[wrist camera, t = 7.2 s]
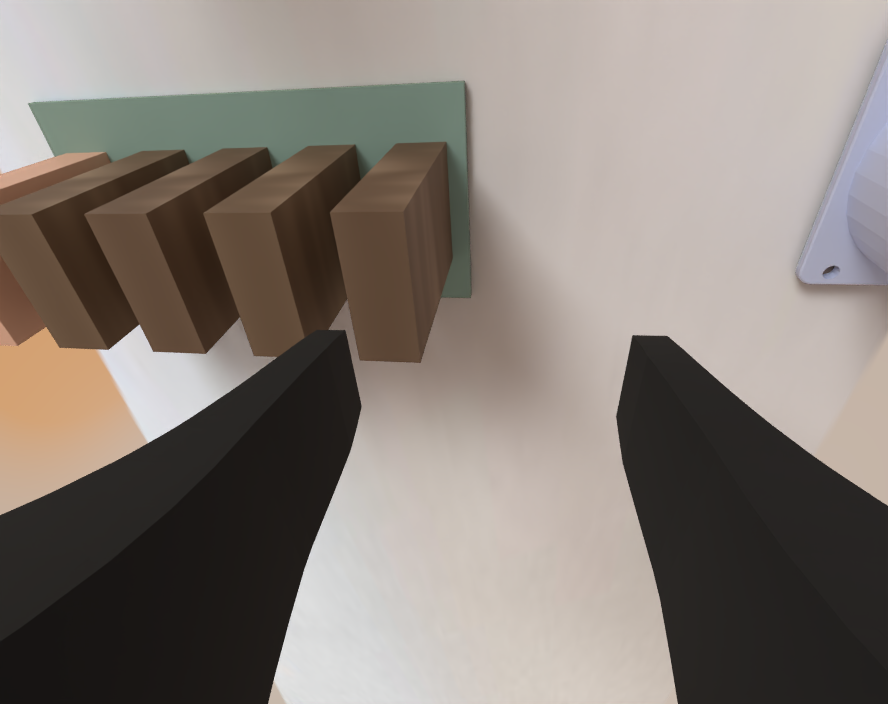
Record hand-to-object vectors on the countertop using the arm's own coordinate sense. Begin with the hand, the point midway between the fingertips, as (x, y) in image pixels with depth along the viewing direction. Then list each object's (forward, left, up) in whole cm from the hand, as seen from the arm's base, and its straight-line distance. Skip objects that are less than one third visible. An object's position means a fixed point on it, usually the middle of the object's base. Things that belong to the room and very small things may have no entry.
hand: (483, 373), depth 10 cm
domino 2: (+10, 0, -10) cm, 14 cm away
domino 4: (+3, 0, -10) cm, 11 cm away
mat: (+10, 0, -10) cm, 14 cm away
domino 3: (+6, 0, -10) cm, 12 cm away
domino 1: (+13, 0, -10) cm, 17 cm away
